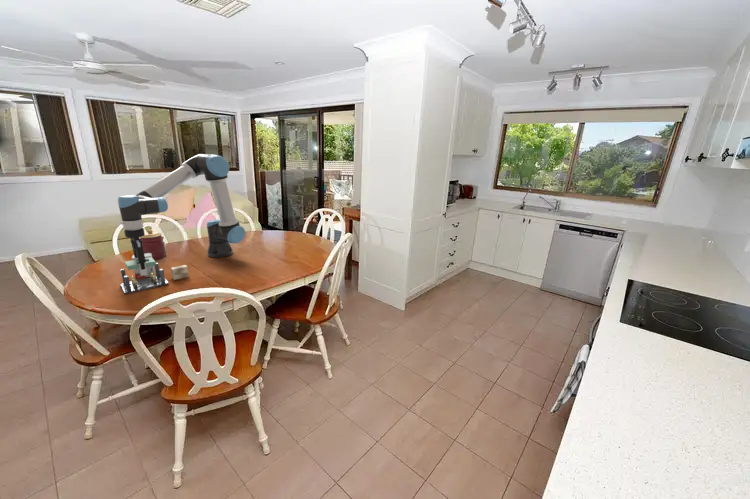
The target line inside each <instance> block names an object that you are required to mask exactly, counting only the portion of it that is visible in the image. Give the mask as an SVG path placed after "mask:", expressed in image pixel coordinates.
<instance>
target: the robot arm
mask: <svg viewBox="0 0 750 499" xmlns="http://www.w3.org/2000/svg"><path fill="white" fill-rule="evenodd" d="M229 171H230V163H229V162H228V161H227V159H226V158H225V157H223V156H222V155H218V154H214V153H213V154H209V153H199V154H196V155H193V156H192V157H191V158H188V159H186V160H185V161H184V162H183V163H181V166H180V167H178V168H177V169H175V170H173V171H172V172H170V173H169V174H167V175H166V176H164V177H163V178H161V179H160V180H158V181H156V182H154V183H153V184H151V185H150V186H148V187H146V188H145V189H144V190H142V191H141V192H139V193H135V194H134V193H133V194H130V195H129V194H128V195H120V196H119V197H118V198H117V204H118V208H119V212H120V218H121V222H120V224H121V225H122V226H123V229H124V230H123V231H124V236H125V238H127V239H130V243H131V246H132V248H131V249H132V252H133V254H132V256H133V255H134V257H135V260H138V262H137V264H138V265H139V268H138V269H137V270H140V275H141V276H143V275H148V274H147V269H146V263H145V262H146V260H145V256H144V251H143V246H142V240H141V239H140V237H142V236H144V235H145V229H144V228H143V227H144V223H143V218H142V215H143V216H144V215H150V214H160V213H163V212H165V213H166V212H167V211H168V209H169V208H168V207H169V206H168V202H167V201H168V200H166V199H165V198H164V197H165V196H166V195H168V194H170V192H172V191H174V190H176V188H178V187H180V186H182V185H183V184H185V182H187V181H189V180H191V179H195V178H196V177H197V178H198V177H199V176H202V175H204V177H205V180H206V182H208V183H209V185H210V188H211V193H212V196H213V199H214V203H215V206H216V210H217V213H218V217H219V219H212V220H208V221H207V223H206V229H207V236H208V247H207V251H206V252H207V253H206V254H207V256H208V257H210V258H223V257H228V256H231V255H232V254H233V252H234V251H233V247H232V245H231V244H235V245H237V244H240V243H241V242H242V241H243V240H244V238H245V236H246V230H245V228H244V227H243V226H242V225H241V224H240V221H239V219H238V218H236V216H235V212H234V207H233V204H232V200H231V197H230V192H229V188H228V185H227V179H228V178H229V177H228V174H229ZM141 260H142V261H141Z"/></svg>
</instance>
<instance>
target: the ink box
mask: <svg viewBox="0 0 750 499" xmlns="http://www.w3.org/2000/svg"><path fill="white" fill-rule="evenodd" d="M144 256H145V258H150V257H152V254H151V253H146V254H144ZM132 260H135V257H134V255H133V254H132V256H131V261H132ZM146 269H147V274H148V275H143V276H141V275H140V270H137V269H133V273H134V277H135V279H143V278H150V277H151V275H150V273H151V272H153V273H154V275H156V271H155V266H149V267H146Z"/></svg>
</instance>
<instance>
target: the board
mask: <svg viewBox="0 0 750 499" xmlns="http://www.w3.org/2000/svg"><path fill="white" fill-rule="evenodd" d="M145 260H146V262H145V263H146V267H149V266H154V265H156V263H157V262H156V261H155V259H153V258H152V257H150V258H145ZM141 261H142V260H141ZM137 262H138V260H132V259H131V260H127V261H126V260H125V261H124V264H125V267H126V268H127V271H131V270H134V269H138V268H139V265H138V264H137ZM154 267H155V266H154Z"/></svg>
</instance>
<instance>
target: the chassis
mask: <svg viewBox="0 0 750 499" xmlns="http://www.w3.org/2000/svg"><path fill="white" fill-rule="evenodd" d="M155 263H156V265H154V270H155V275H154V273H153V272H151V273H150V275H151V276H150V277H145V278H140V279H137V278H136V277H135V275H130V277H129V275H126V274H127V273H126V270H125V268H121V269H120V274H121V277H122V278H121V279H122V283H119V284H120V288H121V289H122V291H123V293H124V295H128V294H133V293H137V292H143V291H145V290H146V291H147V290H151V289H156V288H161V287H165V286H169V285H170V284H169V281H168V280H167V279H166V278H165V272H164V269H163V268H160V266H159V263H158V262H155ZM130 279H131V281H130Z"/></svg>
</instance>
